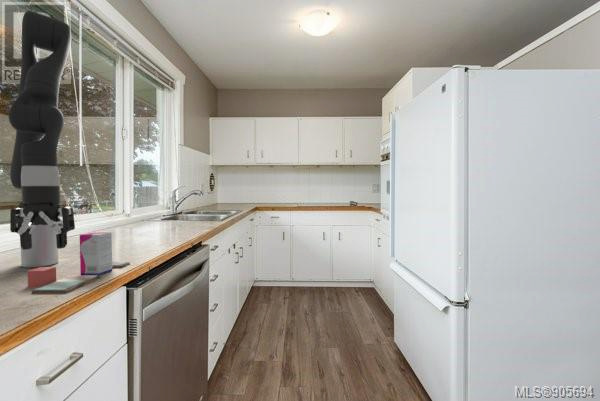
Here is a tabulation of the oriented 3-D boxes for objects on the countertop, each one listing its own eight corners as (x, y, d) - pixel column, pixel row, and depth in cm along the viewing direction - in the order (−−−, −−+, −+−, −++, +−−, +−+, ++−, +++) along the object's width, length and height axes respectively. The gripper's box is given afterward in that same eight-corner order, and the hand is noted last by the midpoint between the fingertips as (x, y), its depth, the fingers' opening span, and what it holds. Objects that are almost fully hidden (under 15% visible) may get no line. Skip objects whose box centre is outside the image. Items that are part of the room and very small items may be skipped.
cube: (44, 286, 79) (43, 270, 79) (28, 287, 79) (27, 271, 79) (56, 282, 83) (55, 266, 83) (41, 282, 83) (40, 267, 83)
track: (66, 293, 74) (66, 289, 74) (31, 293, 74) (31, 290, 74) (129, 263, 102) (129, 261, 102) (104, 264, 102) (104, 261, 102)
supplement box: (113, 270, 94) (112, 231, 94) (98, 276, 88) (97, 234, 88) (95, 270, 95) (94, 231, 94) (79, 275, 89) (78, 234, 88)
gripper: (79, 184, 84) (82, 245, 85) (24, 185, 84) (27, 246, 84) (58, 183, 77) (61, 250, 77) (-2, 185, 76) (2, 252, 77)
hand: (44, 248), depth 81 cm, fingers open, 8 cm apart
